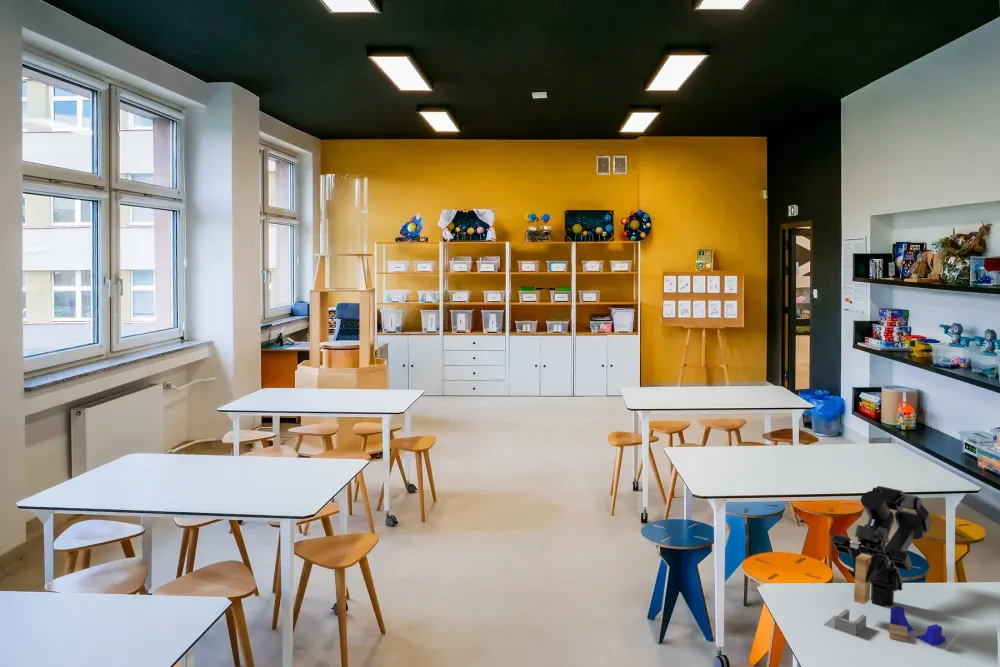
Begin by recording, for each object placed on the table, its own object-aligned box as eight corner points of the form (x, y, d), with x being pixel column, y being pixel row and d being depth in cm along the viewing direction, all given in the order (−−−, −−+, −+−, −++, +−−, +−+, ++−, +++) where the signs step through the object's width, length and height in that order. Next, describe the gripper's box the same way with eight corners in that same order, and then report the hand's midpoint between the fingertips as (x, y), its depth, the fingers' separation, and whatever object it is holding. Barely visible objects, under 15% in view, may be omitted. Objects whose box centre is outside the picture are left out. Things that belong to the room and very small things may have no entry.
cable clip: (944, 648, 180) (946, 625, 180) (932, 652, 178) (933, 629, 178) (902, 626, 191) (903, 604, 191) (889, 629, 190) (890, 607, 189)
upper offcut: (888, 630, 186) (889, 623, 186) (906, 633, 184) (906, 626, 184) (889, 638, 182) (889, 631, 182) (907, 642, 180) (908, 635, 180)
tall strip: (859, 596, 194) (861, 553, 193) (869, 599, 192) (871, 556, 191) (853, 601, 191) (855, 557, 190) (863, 604, 189) (865, 560, 188)
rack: (834, 621, 194) (834, 604, 193) (877, 636, 186) (878, 619, 186) (823, 630, 189) (823, 613, 189) (867, 646, 181) (868, 628, 181)
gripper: (835, 504, 199) (816, 554, 193) (909, 522, 185) (892, 576, 179) (845, 525, 205) (827, 574, 199) (918, 543, 192) (901, 597, 185)
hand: (860, 580), depth 190 cm, fingers closed on tall strip, 2 cm apart
